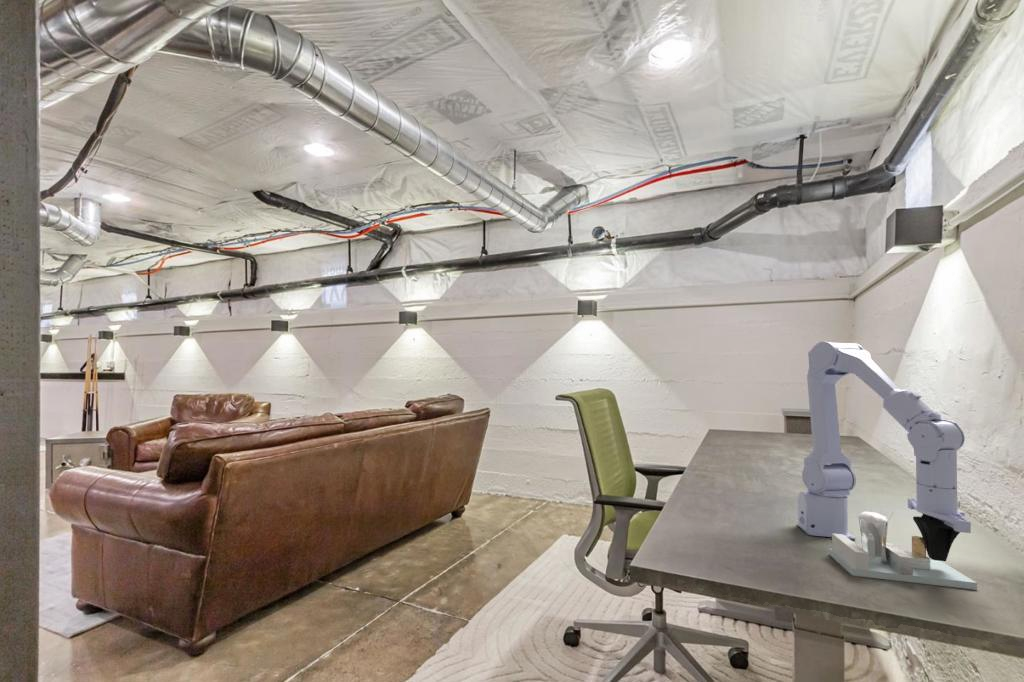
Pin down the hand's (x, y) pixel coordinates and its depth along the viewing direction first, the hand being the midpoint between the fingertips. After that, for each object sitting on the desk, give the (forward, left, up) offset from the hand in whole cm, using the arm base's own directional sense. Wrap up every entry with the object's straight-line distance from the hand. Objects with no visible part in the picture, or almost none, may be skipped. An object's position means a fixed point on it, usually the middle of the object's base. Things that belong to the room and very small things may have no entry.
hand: (937, 559), depth 88 cm
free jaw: (-5, 0, -2) cm, 5 cm away
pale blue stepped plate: (-6, 0, -3) cm, 7 cm away
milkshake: (-10, 0, -2) cm, 10 cm away
